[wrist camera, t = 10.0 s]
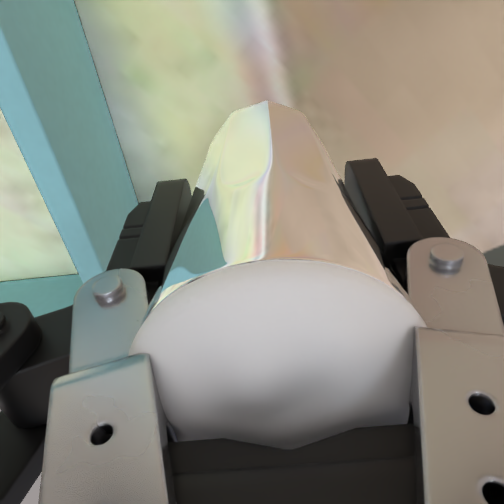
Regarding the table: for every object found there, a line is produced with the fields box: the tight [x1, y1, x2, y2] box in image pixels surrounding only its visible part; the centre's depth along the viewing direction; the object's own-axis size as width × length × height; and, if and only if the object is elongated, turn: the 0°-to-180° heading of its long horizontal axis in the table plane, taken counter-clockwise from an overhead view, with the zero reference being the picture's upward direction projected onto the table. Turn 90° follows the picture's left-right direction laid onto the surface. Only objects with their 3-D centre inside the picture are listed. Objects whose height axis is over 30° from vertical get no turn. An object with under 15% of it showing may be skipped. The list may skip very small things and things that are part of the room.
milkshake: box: [128, 100, 427, 449], centre depth 9 cm, size 4×5×10 cm
